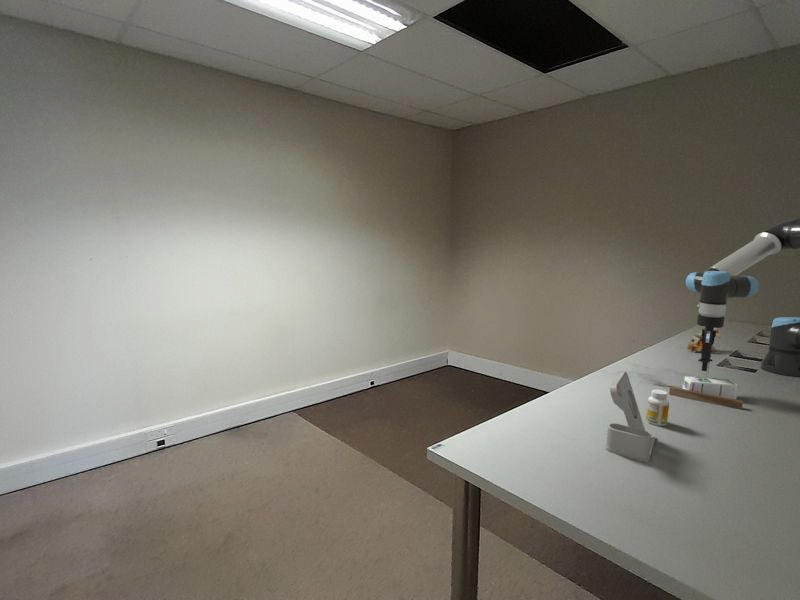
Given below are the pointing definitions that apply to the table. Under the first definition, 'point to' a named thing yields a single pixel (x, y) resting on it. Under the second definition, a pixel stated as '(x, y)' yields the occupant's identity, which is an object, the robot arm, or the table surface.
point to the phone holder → (626, 438)
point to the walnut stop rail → (706, 397)
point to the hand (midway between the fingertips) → (703, 378)
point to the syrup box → (711, 386)
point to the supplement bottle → (657, 408)
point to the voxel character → (700, 341)
